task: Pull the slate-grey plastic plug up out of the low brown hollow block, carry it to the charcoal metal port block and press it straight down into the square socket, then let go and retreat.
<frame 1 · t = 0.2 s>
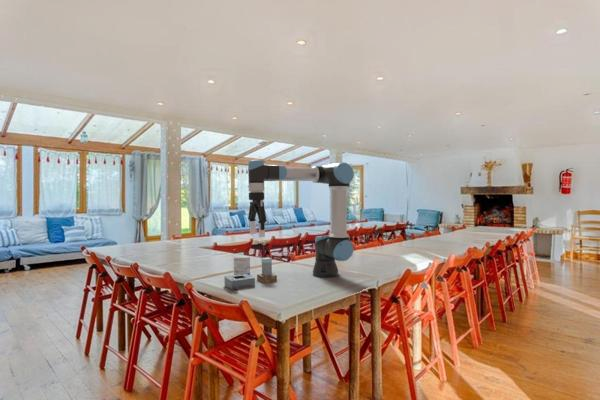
hand: (257, 235, 169), 27 cm above the table, fingers open, 13 cm apart
port: (239, 286, 179), on the table
ink box: (242, 277, 201), on the table
plug: (266, 280, 188), point 1 cm above the table, touching brown hollow block
brown hollow block: (267, 282, 188), on the table
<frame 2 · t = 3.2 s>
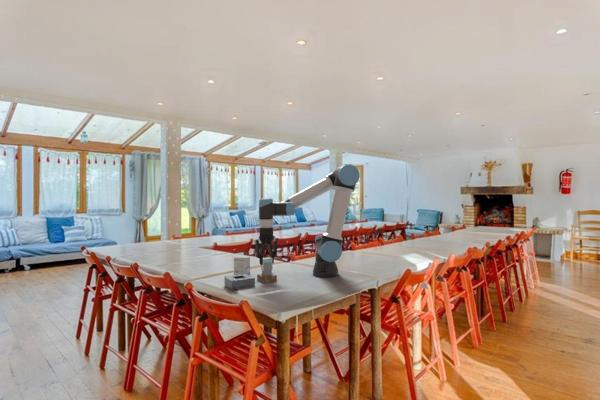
hand: (266, 269, 188), 7 cm above the table, fingers closed on plug, 4 cm apart
plug: (266, 280, 188), point 1 cm above the table, touching gripper, brown hollow block
everything else where it was.
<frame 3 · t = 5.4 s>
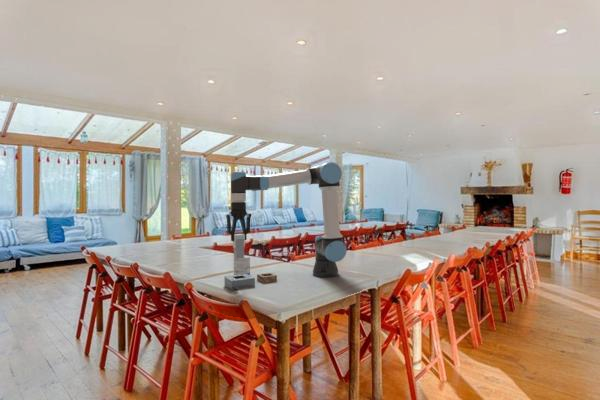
hand: (238, 246, 179), 21 cm above the table, fingers closed on plug, 4 cm apart
plug: (238, 257, 179), point 15 cm above the table, touching gripper
everything else where it was.
when the fingers open (7 cm above the table, at t = 7.6 s): plug stays where it is, resting on port.
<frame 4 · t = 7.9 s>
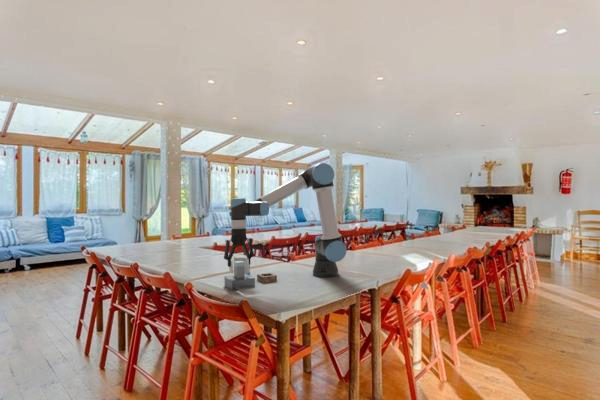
hand: (239, 271, 179), 8 cm above the table, fingers open, 8 cm apart
plug: (239, 284, 179), point 1 cm above the table, touching port
everything else where it was.
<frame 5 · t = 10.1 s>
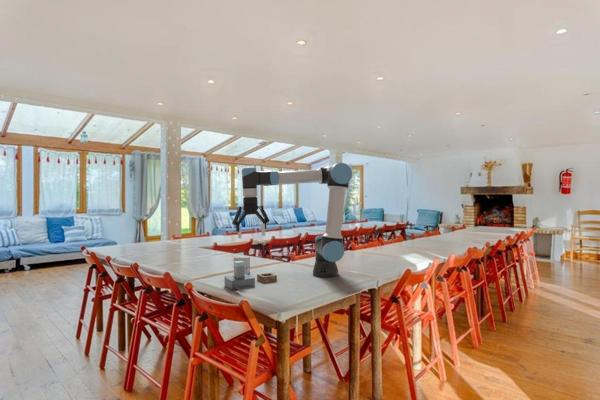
hand: (251, 236, 184), 25 cm above the table, fingers open, 13 cm apart
nothing on the table moved.
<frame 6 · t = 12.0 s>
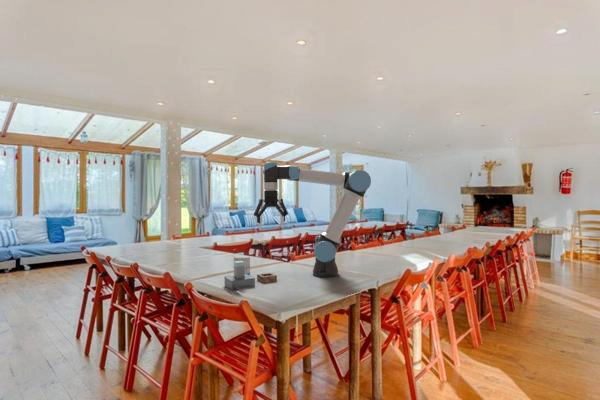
hand: (271, 228, 193), 29 cm above the table, fingers open, 13 cm apart
nothing on the table moved.
at the end: plug 0.0 cm off-centre on the port, point 1.0 cm above the port's base; plug tilted 0°; the gripper is holding nothing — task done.
